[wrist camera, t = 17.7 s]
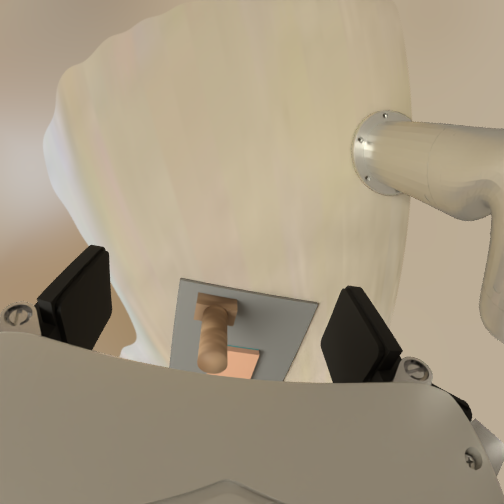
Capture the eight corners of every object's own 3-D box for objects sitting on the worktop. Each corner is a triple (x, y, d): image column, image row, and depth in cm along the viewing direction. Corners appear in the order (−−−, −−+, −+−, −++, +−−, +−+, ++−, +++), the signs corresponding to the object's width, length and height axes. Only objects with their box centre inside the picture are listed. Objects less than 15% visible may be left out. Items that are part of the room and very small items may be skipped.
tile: (259, 355, 47) (245, 390, 51) (258, 349, 48) (245, 384, 52) (212, 348, 46) (204, 384, 49) (213, 342, 47) (204, 379, 51)
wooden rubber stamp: (237, 297, 44) (240, 357, 32) (232, 316, 45) (234, 377, 33) (198, 290, 43) (189, 349, 31) (195, 309, 44) (185, 369, 32)
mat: (316, 302, 46) (317, 304, 45) (274, 394, 55) (275, 396, 54) (180, 277, 42) (180, 279, 42) (168, 379, 51) (168, 381, 51)
